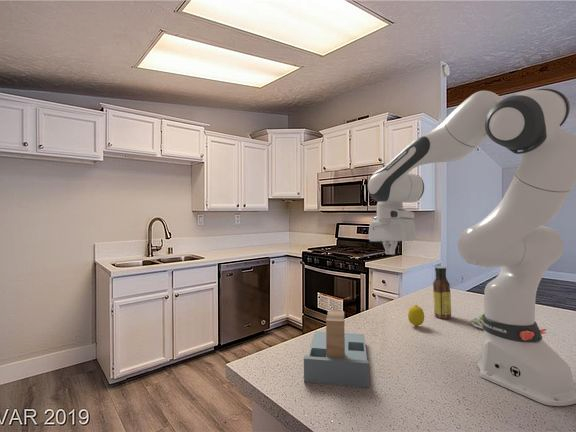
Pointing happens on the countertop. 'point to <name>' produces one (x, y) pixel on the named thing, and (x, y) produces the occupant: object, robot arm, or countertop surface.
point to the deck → (337, 362)
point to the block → (335, 335)
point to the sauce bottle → (441, 294)
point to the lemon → (416, 315)
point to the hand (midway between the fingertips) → (390, 254)
